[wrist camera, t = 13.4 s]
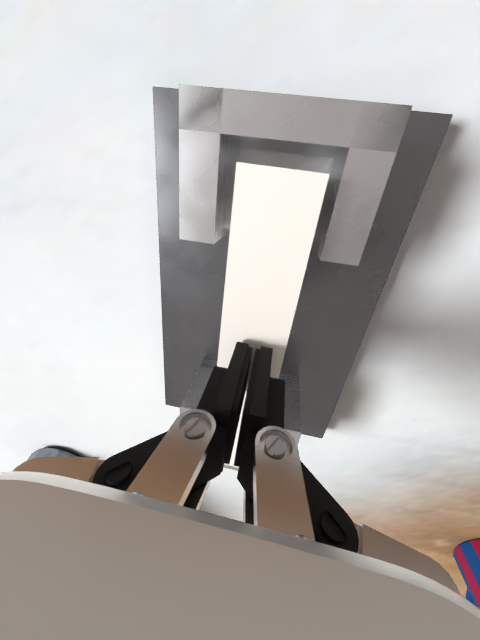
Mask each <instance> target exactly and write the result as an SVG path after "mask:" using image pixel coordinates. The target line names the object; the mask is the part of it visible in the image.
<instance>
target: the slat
mask: <svg viewBox="0 0 480 640" xmlns="http://www.w3.org/2000/svg"><path fill="white" fill-rule="evenodd" d="M328 178H329V174H326V173H318V172H311V171H303V170H295V169H288V168H280V167H272V166H264V165H257V164H249V163H241V162H236V172H235V183H234V193H233V204H232V214H231V225H230V235H229V245H228V256H227V266H226V277H225V287H224V298H223V308H222V319H221V329H220V340H219V350H218V360H217V366H218V367H223V368H228V366H229V363H230V360H231V357H232V354H233V352H234V349H235V346H236V343H237V342H242V343H247V344H249V345H248V347H252V354H251V360H250V366H249V372H248V378H247V384H246V390H245V396H244V400H243V405H242V410H241V414H240V419H239V423H238V428H237V432H236V437H235V441H234V446H233V450H232V455H231V460H230V464H225V463H224V464H225V465H229V466H234V460H235V455H236V449H237V443H238V437H239V431H240V425H241V419H242V413H243V408H244V403H245V399H246V394H247V389H248V385H249V380H250V375H251V370H252V366H253V361H254V356H255V352H256V348H257V349H261V346H263V347H268V348H273V353H272V362H271V371H270V377H272V378H277V379H279V375H280V371H281V367H282V363H283V359H284V355H285V351H286V347H287V343H288V339H289V335H290V331H291V327H292V323H293V319H294V315H295V311H296V307H297V302H298V298H299V294H300V290H301V286H302V282H303V278H304V274H305V270H306V266H307V262H308V258H309V254H310V250H311V246H312V242H313V238H314V234H315V230H316V226H317V222H318V218H319V214H320V210H321V206H322V202H323V198H324V194H325V190H326V186H327V182H328ZM234 467H238V466H234ZM238 468H239V467H238Z"/></svg>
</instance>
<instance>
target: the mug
mask: <svg viewBox="0 0 480 640" xmlns="http://www.w3.org/2000/svg"><path fill="white" fill-rule="evenodd" d="M453 555H454V558H455V560H456V562H457V565H458V567H459V569H460V571H461V574H462V576H463V578H464V580H465V583H466V585H467V587H468V588H467V592H466V599H467V600H468V601H470V602H471V603H472V604H474V605H475V606H476V607H478V608H479V609H480V538H478V539H472V540H469V541H465V542H463V543H461V544H459V545H458V546H457V547H456V548H455V550H454V553H453Z"/></svg>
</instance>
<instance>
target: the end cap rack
mask: <svg viewBox="0 0 480 640" xmlns="http://www.w3.org/2000/svg"><path fill="white" fill-rule="evenodd" d="M153 106H154V131H155V155H156V180H157V204H158V228H159V253H160V277H161V301H162V326H163V350H164V375H165V399H166V405H171V406H175V407H180V415H181V414H182V413H183V412H185V411H187V410H191V409H196V408H197V406H198V404H199V401H200V399H201V397H202V394H203V392H204V390H205V387H206V385H207V382H208V380H209V378H210V375H211V373H212V371H213V368H214V367H215V366H217V360H218V350H219V340H220V329H221V319H222V308H223V298H224V287H225V277H226V266H227V256H228V245H229V235H230V225H231V214H232V204H233V193H234V183H235V172H236V162H241V163H249V164H257V165H264V166H272V167H280V168H288V169H295V170H303V171H311V172H318V173H326V174H329V178H328V182H327V186H326V190H325V194H324V198H323V202H322V206H321V210H320V214H319V218H318V222H317V226H316V230H315V234H314V238H313V242H312V246H311V250H310V254H309V258H308V262H307V266H306V270H305V274H304V278H303V282H302V286H301V290H300V294H299V298H298V302H297V307H296V311H295V315H294V319H293V323H292V327H291V331H290V335H289V339H288V343H287V347H286V351H285V355H284V359H283V363H282V367H281V371H280V375H279V379H282V380H285V408H284V429H285V430H287V431H288V432H289V433H290V434H291V435H292V436H293V437H294V439H295V441H296V444H297V445H298V442H299V439H300V436H301V434H304V435H309V436H314V437H318V438H323V435H324V433H325V430H326V428H327V425H328V423H329V420H330V418H331V415H332V413H333V410H334V408H335V405H336V403H337V400H338V398H339V395H340V393H341V391H342V388H343V386H344V383H345V381H346V378H347V376H348V373H349V371H350V368H351V366H352V363H353V361H354V358H355V356H356V353H357V351H358V348H359V346H360V343H361V341H362V338H363V336H364V334H365V331H366V329H367V326H368V324H369V321H370V319H371V316H372V314H373V311H374V309H375V306H376V304H377V301H378V299H379V296H380V294H381V291H382V289H383V286H384V284H385V281H386V279H387V277H388V274H389V272H390V269H391V267H392V264H393V262H394V259H395V257H396V254H397V252H398V249H399V247H400V244H401V242H402V239H403V237H404V234H405V232H406V229H407V227H408V224H409V222H410V220H411V217H412V215H413V212H414V210H415V207H416V205H417V202H418V200H419V197H420V195H421V192H422V190H423V187H424V185H425V182H426V180H427V177H428V175H429V172H430V170H431V168H432V165H433V163H434V160H435V158H436V155H437V153H438V150H439V148H440V145H441V143H442V140H443V138H444V135H445V133H446V130H447V128H448V125H449V123H450V120H451V118H452V114H441V113H430V112H420V111H411V109H412V106H409V105H398V104H388V103H377V102H366V101H355V100H344V99H333V98H322V97H311V96H300V95H290V94H279V93H268V92H257V91H246V90H235V89H224V88H213V87H202V86H191V85H181V84H179V89H174V88H163V87H153ZM224 467H225V468H229V469H233V470H237V471H238V470H239V468H238V467H234V466H229V465H225V464H224Z"/></svg>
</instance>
